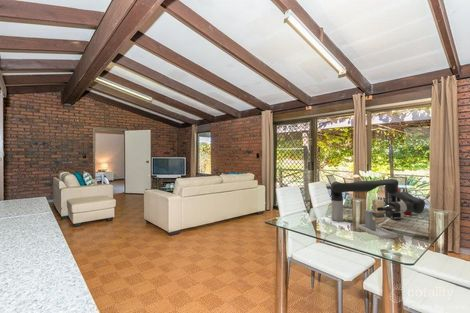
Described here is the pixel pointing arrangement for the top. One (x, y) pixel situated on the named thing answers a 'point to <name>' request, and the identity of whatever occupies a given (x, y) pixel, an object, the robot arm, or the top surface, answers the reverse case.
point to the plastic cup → (407, 212)
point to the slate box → (369, 220)
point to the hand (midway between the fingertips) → (374, 208)
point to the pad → (366, 236)
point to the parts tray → (379, 232)
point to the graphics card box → (392, 199)
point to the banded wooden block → (378, 214)
